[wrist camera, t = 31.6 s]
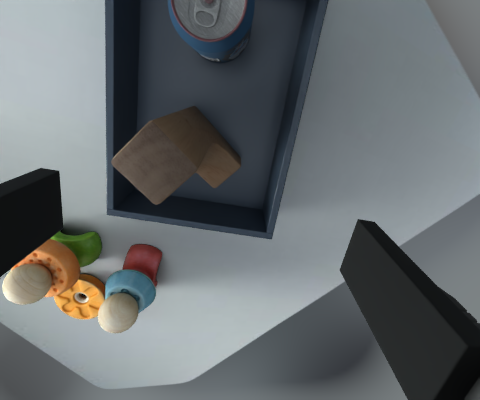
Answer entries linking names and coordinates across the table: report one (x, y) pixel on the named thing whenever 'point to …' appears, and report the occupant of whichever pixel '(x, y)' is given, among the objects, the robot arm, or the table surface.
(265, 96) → the bin
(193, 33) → the soda can
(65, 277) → the stacking toy
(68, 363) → the table surface
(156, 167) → the wooden block
